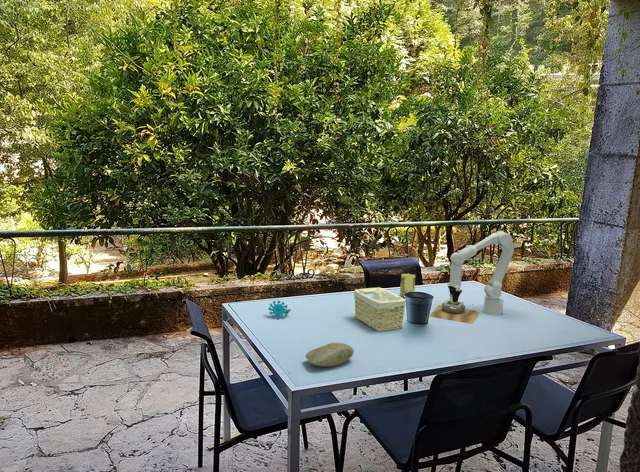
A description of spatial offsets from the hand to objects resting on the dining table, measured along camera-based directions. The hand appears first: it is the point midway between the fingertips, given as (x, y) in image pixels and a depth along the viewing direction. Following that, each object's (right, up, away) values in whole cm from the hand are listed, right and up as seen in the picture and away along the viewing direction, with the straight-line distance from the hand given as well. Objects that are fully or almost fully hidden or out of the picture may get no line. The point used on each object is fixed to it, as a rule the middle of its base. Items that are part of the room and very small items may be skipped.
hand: (453, 300), depth 274 cm
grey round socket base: (0, -5, +1) cm, 5 cm away
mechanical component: (-21, -2, +25) cm, 33 cm away
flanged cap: (0, -1, 0) cm, 1 cm away
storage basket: (-42, -9, -21) cm, 48 cm away
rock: (-66, -16, -72) cm, 99 cm away
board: (-1, -7, -4) cm, 8 cm away
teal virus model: (-90, -6, -17) cm, 92 cm away
